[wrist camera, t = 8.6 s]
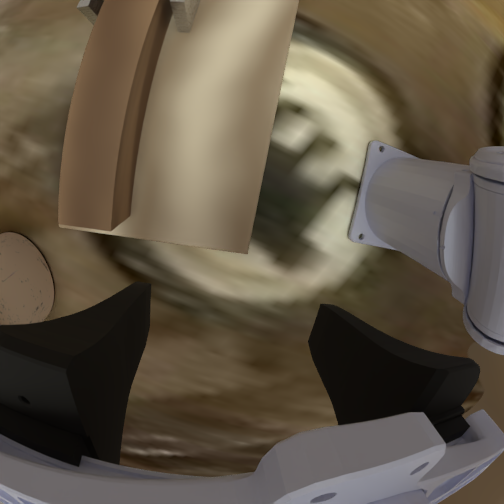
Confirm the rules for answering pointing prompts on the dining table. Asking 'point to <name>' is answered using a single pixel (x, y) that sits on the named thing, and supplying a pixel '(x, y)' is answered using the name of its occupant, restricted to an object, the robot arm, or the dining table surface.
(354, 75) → the dining table surface
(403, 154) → the robot arm
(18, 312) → the teacup with lid
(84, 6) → the bracket
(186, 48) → the base board
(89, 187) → the rail
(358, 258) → the dining table surface
